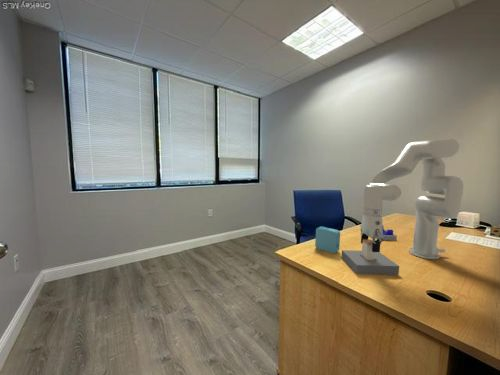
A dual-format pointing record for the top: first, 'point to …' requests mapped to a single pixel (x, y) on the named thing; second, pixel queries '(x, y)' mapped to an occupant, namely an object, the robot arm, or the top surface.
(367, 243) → the plug
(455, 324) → the top surface
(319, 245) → the data package
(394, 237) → the desk tray
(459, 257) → the top surface
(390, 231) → the cable clip
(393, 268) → the socket plate
